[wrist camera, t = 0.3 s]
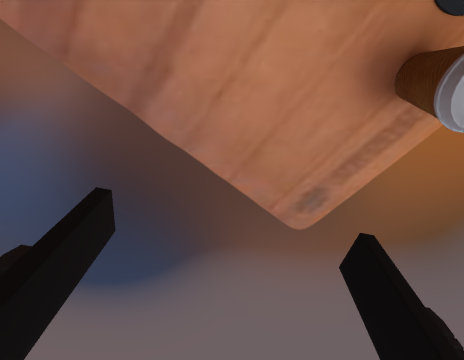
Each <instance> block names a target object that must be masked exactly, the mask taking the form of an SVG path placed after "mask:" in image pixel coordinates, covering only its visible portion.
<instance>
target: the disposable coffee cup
mask: <svg viewBox="0 0 464 360" xmlns="http://www.w3.org/2000/svg"><path fill="white" fill-rule="evenodd" d="M395 90H396V93H397V95H398V96H399V97H400V98H402V99H404V100H406V101H408V102H409V103H411V104H413V105H415V106H416V107H418V108H420V109H422V110H424V111H425V112H427V113H429V114H431V115H433V116H434V117H436V118H438V119H439V121H440V122H441V123H442V124H443V125H444V126H445V127H446V128H449V129H451V130H453V131H456V132H464V46H461V47H456V48H450V49H445V50H440V51H434V52H429V53H423V54H419V55H416V56H414V57H413V58H411V59H410V60H408V61H407V62H406V63H405V64H404V65H403V66H402V68H401V69H400V70H399V72H398V74H397V77H396V80H395Z"/></svg>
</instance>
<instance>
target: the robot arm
mask: <svg viewBox="0 0 464 360" xmlns="http://www.w3.org/2000/svg"><path fill="white" fill-rule="evenodd" d="M114 232H115V222H114V211H113V201H112V191H111V190H108V189H102V188H97V187H96V188H95V189H94V190H93V191H92V192H91V193H90V194H88V195H87V196H86V197H85V198H84V199H83V200H82V201H81V202H80V203H79V204H78V205H76V206H75V207H74V208H73V209H72V210H71V211H70V212H69V213H68V214H67V215H66V216H65V217H64V218H62V219H61V221H59V222H58V223H57V224H56V225H55V226H54V227H53V228H52V229H51V230H49V231H48V232H47V233H46V234H45V235H44V236H43V237H42V238H41V239H40V240H39V241H38V242H37V243H35V244H34V245H33V246H26V245H20V246H18V247H17V248H14V249H13V250H11V251H9V252H7V253H5V254H4V255H2V256H1V257H0V360H24V359H25V357H26V356H27V355H28V353H29V352H30V350H31V349H32V347H33V346H34V345H35V343H36V342H37V341H38V339H39V338H40V336H41V335H42V333H43V332H44V331H45V329H46V328H47V326H48V325H49V324H50V322H51V320H52V319H53V318H54V316H55V315H56V314H57V312H58V311H59V309H60V308H61V307H62V305H63V304H64V302H65V301H66V300H67V298H68V297H69V295H70V294H71V293H72V291H73V290H74V288H75V287H76V286H77V284H78V283H79V281H80V280H81V279H82V277H83V276H84V274H85V273H86V272H87V270H88V269H89V267H90V266H91V264H92V263H93V262H94V260H95V259H96V257H97V256H98V255H99V253H100V252H101V250H102V249H103V248H104V246H105V245H106V243H107V242H108V241H109V239H110V238H111V236H112V235H113V234H114ZM339 269H340V271H341V273H342V275H343V278H344V280H345V282H346V284H347V286H348V288H349V291H350V293H351V295H352V298H353V300H354V302H355V304H356V306H357V309H358V311H359V313H360V315H361V318H362V320H363V322H364V324H365V327H366V329H367V331H368V333H369V336H370V338H371V340H372V342H373V345H374V347H375V349H376V351H377V354H378V356H379V358H380V360H464V350H463V347H462V346H461V344H460V343H459V341H458V340H457V339H455V338H454V335H453V333H452V332H451V331H450V329H449V328H448V327H447V325H446V324H445V323H444V321H443V320H442V319H441V318H440V317H439V316H437V315H436V314H435V313H434V312H433V311H432V310H431V309H430V308H426V307H425V306H424V305H423V304H422V302H421V301H420V299H419V298H418V297H417V295H416V294H415V292H414V291H413V289H412V288H411V287H410V285H409V284H408V283H407V281H406V280H405V278H404V277H403V276H402V274H401V273H400V271H399V270H398V269H397V267H396V266H395V264H394V263H393V262H392V260H391V259H390V258H389V256H388V255H387V253H386V252H385V250H384V249H383V248H382V246H381V245H380V244H379V242H378V241H377V239H376V238H375V236H374V235H369V234H364V233H360V234H359V235H358V237H357V239H356V240H355V242H354V244H353V245H352V247H351V248H350V250H349V252H348V253H347V255H346V257H345V258H344V260H343V262H342V263H341V265H340V267H339Z"/></svg>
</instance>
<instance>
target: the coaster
mask: <svg viewBox="0 0 464 360" xmlns="http://www.w3.org/2000/svg"><path fill="white" fill-rule="evenodd" d="M435 2H436V4H437V5H438V7H439V8H440V9H441V10H442V11H444V12H445V13H447V14H450V15H455V16H463V15H464V0H435Z"/></svg>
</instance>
